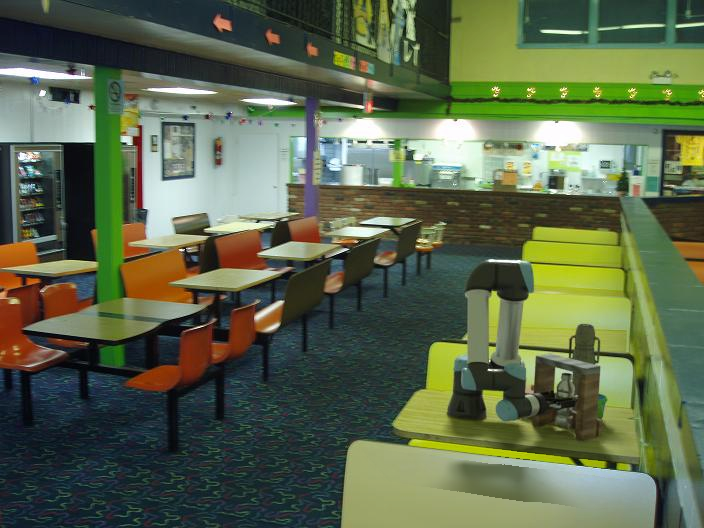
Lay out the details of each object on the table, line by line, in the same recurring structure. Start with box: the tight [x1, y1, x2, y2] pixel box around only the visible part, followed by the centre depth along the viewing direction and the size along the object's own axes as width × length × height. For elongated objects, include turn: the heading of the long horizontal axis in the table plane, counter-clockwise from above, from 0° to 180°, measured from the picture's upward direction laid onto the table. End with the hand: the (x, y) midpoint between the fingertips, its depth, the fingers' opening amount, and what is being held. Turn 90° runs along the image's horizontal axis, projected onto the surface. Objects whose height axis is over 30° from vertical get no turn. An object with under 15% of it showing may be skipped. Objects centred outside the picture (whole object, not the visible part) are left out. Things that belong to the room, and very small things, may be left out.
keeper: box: [531, 353, 604, 442], centre depth 297 cm, size 23×12×26 cm, turn 36°
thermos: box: [568, 323, 601, 412], centre depth 323 cm, size 9×12×35 cm
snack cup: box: [597, 393, 608, 420], centre depth 310 cm, size 16×10×10 cm
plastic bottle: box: [554, 372, 575, 429], centre depth 296 cm, size 6×7×20 cm
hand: (574, 395), depth 299 cm, fingers closed on plastic bottle, 6 cm apart
